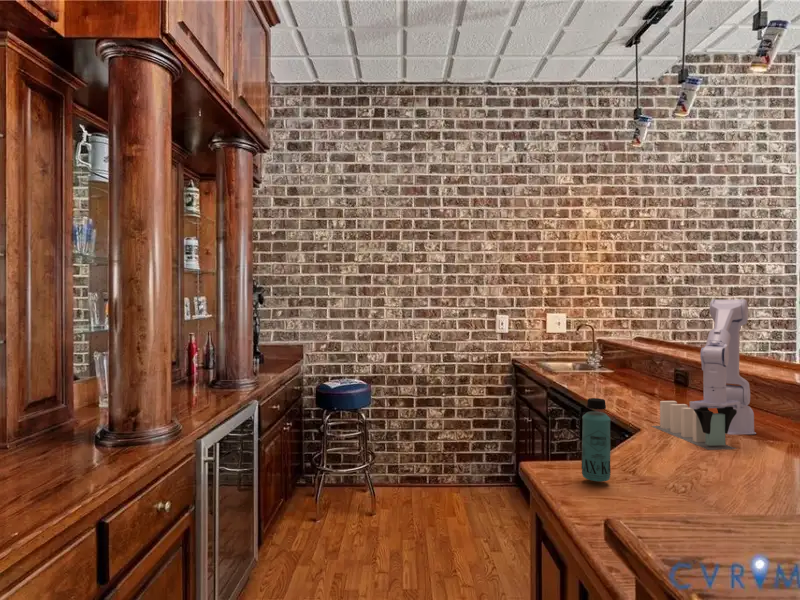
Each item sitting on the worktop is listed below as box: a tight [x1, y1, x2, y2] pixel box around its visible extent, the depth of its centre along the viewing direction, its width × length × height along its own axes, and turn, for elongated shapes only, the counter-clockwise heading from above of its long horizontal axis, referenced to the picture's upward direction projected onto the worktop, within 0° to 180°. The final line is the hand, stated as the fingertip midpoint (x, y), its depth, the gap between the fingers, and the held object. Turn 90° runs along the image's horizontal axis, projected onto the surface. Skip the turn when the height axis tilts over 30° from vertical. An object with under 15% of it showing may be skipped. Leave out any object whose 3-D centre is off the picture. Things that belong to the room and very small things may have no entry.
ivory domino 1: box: [659, 400, 678, 429], centre depth 168 cm, size 5×2×9 cm, turn 95°
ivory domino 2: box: [670, 403, 689, 433], centre depth 162 cm, size 5×2×9 cm, turn 95°
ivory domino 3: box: [681, 408, 694, 437], centre depth 157 cm, size 5×2×9 cm, turn 95°
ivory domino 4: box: [693, 411, 706, 442], centre depth 151 cm, size 5×2×9 cm, turn 95°
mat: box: [650, 425, 737, 451], centre depth 157 cm, size 9×28×1 cm, turn 5°
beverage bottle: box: [580, 397, 612, 482], centre depth 117 cm, size 6×7×20 cm
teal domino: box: [705, 412, 726, 445], centre depth 146 cm, size 5×2×9 cm, turn 95°
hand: (715, 432), depth 146 cm, fingers closed on teal domino, 5 cm apart
